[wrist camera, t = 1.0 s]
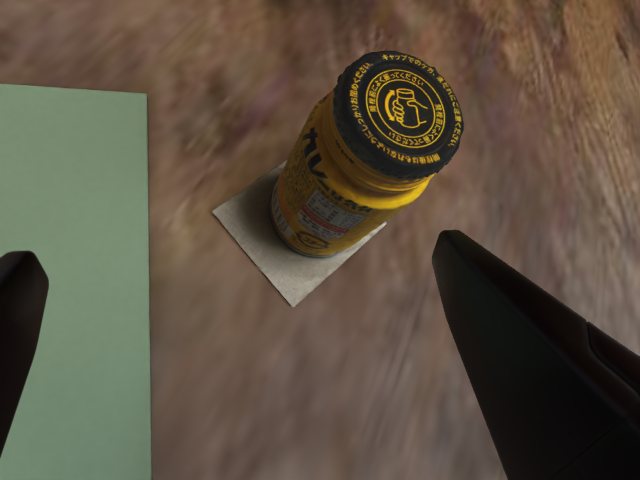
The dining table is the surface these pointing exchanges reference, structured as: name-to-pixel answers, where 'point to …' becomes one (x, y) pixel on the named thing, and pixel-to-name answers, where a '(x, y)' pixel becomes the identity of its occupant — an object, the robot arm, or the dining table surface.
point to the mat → (80, 280)
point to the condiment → (347, 171)
